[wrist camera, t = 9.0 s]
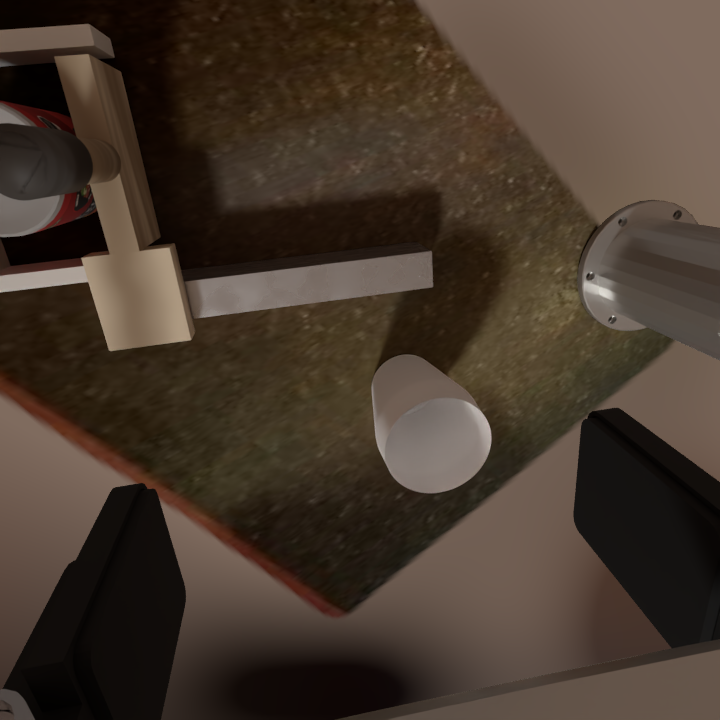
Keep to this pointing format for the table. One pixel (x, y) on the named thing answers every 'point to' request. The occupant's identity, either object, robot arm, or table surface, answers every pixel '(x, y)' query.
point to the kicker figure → (104, 204)
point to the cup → (427, 426)
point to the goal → (37, 50)
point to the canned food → (44, 213)
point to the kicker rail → (307, 279)
